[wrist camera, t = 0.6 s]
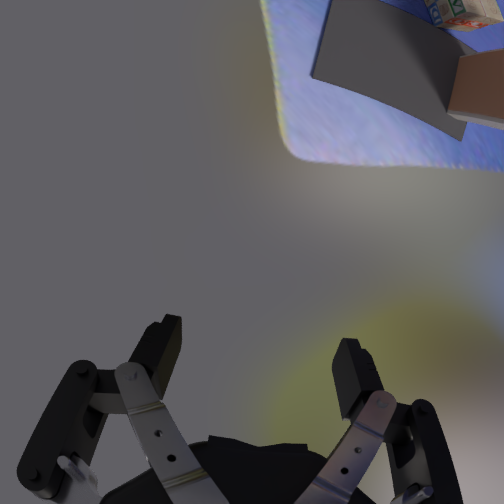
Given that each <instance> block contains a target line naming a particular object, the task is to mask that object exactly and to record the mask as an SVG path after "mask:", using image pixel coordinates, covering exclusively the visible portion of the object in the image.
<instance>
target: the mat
mask: <svg viewBox="0 0 504 504" xmlns="http://www.w3.org/2000/svg"><path fill="white" fill-rule="evenodd" d="M474 53H477V52H476V51H474V50H473V49H471V48H470V47H468V46H467V45H465V44H464V43H462V42H461V41H459V40H458V39H456V38H454V37H453V36H451V35H449V34H448V33H446V32H444V31H443V30H441V29H439V28H437V27H435V26H434V25H432V24H430V23H428V22H426V21H424V20H422V19H420V18H418V17H416V16H414V15H412V14H410V13H408V12H405V11H403V10H401V9H399V8H396V7H394V6H391V5H389V4H387V3H384V2H381V1H379V0H332V4H331V8H330V12H329V16H328V20H327V24H326V28H325V32H324V36H323V39H322V43H321V47H320V51H319V55H318V59H317V62H316V66H315V70H314V74H313V79H317V80H320V81H323V82H327V83H330V84H333V85H336V86H339V87H342V88H345V89H348V90H351V91H354V92H357V93H359V94H362V95H365V96H367V97H370V98H373V99H375V100H378V101H380V102H383V103H385V104H387V105H390V106H392V107H394V108H397V109H399V110H401V111H403V112H405V113H407V114H410V115H412V116H414V117H416V118H418V119H420V120H422V121H424V122H426V123H428V124H430V125H432V126H434V127H435V128H437V129H439V130H441V131H443V132H445V133H446V134H448V135H450V136H452V137H453V138H455V139H457V140H458V141H462V138H463V135H464V131H465V128H466V124H467V121H462V120H457V119H456V118H454V117H452V116H451V115H449V114H447V111H448V106H449V102H450V98H451V94H452V90H453V86H454V82H455V77H456V72H457V67H458V62H459V58H460V56H464V55H469V54H474Z"/></svg>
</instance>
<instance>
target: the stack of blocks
mask: <svg viewBox="0 0 504 504" xmlns="http://www.w3.org/2000/svg"><path fill="white" fill-rule="evenodd" d="M424 2H425V4H426V7H427V9H428V12H429V15H430V17H431V20H432V23H433V25H434V26H435V27H438V28H446V29H453V30H458V31H465V32H470V31H473V30H475V29H478V28H482V27H485V26H488V25H493V24H496V23H500V22H503V21H504V20H503V17H502V14H501V12H500V9H499V7H498V4H497V2H496V0H424Z"/></svg>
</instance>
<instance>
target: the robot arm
mask: <svg viewBox="0 0 504 504" xmlns="http://www.w3.org/2000/svg"><path fill="white" fill-rule="evenodd" d="M181 344H182V319H181V317H180V316H175V315H170V314H166V315H165V317H164V319H163V320H162V322H161V323H159V322H154V323H152V324H151V325H150V326H148V327H147V328H146V330H145V332H144V334H143V336H142V338H141V339H140V341H139V343H138V345H137V346H136V348H135V350H134V352H133V353H132V355H131V357H130V359H129V361H128V362H126V363H123V364H121V365H119V366H118V367H117V368H116V369H115V370H100V369H97V368H96V366H95V364H93V363H92V362H91V361H88V360H79V361H76V362H74V363H73V364H71V366H70V367H69V369H68V370H67V372H66V374H65V375H64V377H63V379H62V380H61V382H60V384H59V385H58V387H57V389H56V391H55V392H54V394H53V396H52V398H51V400H50V401H49V403H48V405H47V407H46V409H45V411H44V412H43V414H42V416H41V418H40V420H39V422H38V424H37V426H36V428H35V430H34V432H33V434H32V436H31V438H30V440H29V442H28V444H27V446H26V449H25V451H24V453H23V455H22V457H21V459H20V462H19V464H18V467H17V477H18V479H19V481H20V483H21V484H22V485H23V486H24V487H25V488H27V489H28V490H30V491H31V492H32V493H33V494H34V495H35V496H37V497H38V498H40V499H41V500H43V501H44V502H46V503H48V504H376V503H375V502H374V501H372V500H371V499H370V498H369V497H368V496H367V495H366V494H364V493H363V492H362V491H361V490H360V489H359V488H358V487H357V485H358V484H359V482H360V480H361V479H362V477H363V475H364V474H365V472H366V471H367V469H368V467H369V466H370V463H371V462H372V460H373V458H374V457H375V455H376V453H377V451H378V449H379V447H380V445H381V443H382V442H385V443H386V446H387V451H388V457H389V462H390V468H391V474H392V480H393V487H394V493H395V497H394V498H393V500H392V501H391V502H390V504H463V500H462V495H461V491H460V487H459V483H458V480H457V476H456V472H455V469H454V465H453V461H452V458H451V455H450V452H449V449H448V445H447V442H446V439H445V436H444V434H443V431H442V428H441V425H440V422H439V419H438V417H437V414H436V411H435V409H434V407H433V405H432V404H431V403H430V402H428V401H427V400H424V399H417V400H415V401H414V402H413V403H412V405H406V404H401V403H398V402H396V399H395V398H394V396H392V394H390V393H388V392H386V391H384V388H383V385H382V383H381V380H380V377H379V374H378V372H377V371H376V366H375V365H374V361H373V358H372V356H371V355H370V354H369V353H368V351H367V350H366V349H361V346H360V343H359V341H358V339H352V338H343V339H342V340H341V342H340V344H339V347H338V349H337V352H336V354H335V356H334V359H333V363H332V373H333V377H334V382H335V386H336V391H337V396H338V401H339V406H340V411H341V416H342V420H350V421H351V425H350V426H349V428H348V429H347V431H346V432H345V434H344V435H343V437H342V438H341V439H340V441H339V442H338V444H337V445H336V447H335V448H334V449H333V451H332V452H331V453H330V455H329V456H328V457H327V458H325V457H323V456H322V455H320V454H317V453H315V452H312V451H309V450H308V447H307V444H290V443H282V444H276V445H269V446H262V447H257V446H253V445H251V444H248V443H244V442H241V441H238V440H235V439H231V438H224V437H217V436H211V435H209V438H208V441H202V442H196V443H193V444H189V445H187V443H186V442H185V440H184V438H183V437H182V435H181V433H180V431H179V430H178V428H177V426H176V424H175V422H174V421H173V419H172V417H171V415H170V413H169V411H168V410H167V408H166V406H165V405H164V403H161V402H160V400H162V399H163V396H164V394H165V391H166V388H167V386H168V383H169V380H170V377H171V375H172V372H173V369H174V366H175V364H176V361H177V358H178V356H179V353H180V350H181ZM109 413H110V414H111V413H112V414H127V415H128V417H129V420H130V423H131V425H132V427H133V430H134V432H135V434H136V437H137V439H138V441H139V444H140V446H141V448H142V450H143V452H144V455H145V457H146V459H147V461H148V463H149V465H150V467H151V468H150V469H148V470H147V471H145V472H143V473H142V474H140V475H138V476H137V477H135V478H133V479H132V480H130V481H128V482H126V483H125V484H123V485H121V486H119V487H118V488H115V489H114V490H112V491H110V492H108V493H107V494H106V495H105V496H104V497H103V498H102V497H100V496H99V494H98V491H97V483H98V482H97V477H96V475H95V473H94V472H93V471H92V470H91V469H90V468H89V466H90V463H91V460H92V457H93V455H94V452H95V449H96V446H97V443H98V441H99V438H100V435H101V433H102V430H103V427H104V425H105V422H106V419H107V417H108V414H109Z"/></svg>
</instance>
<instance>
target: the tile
mask: <svg viewBox="0 0 504 504" xmlns="http://www.w3.org/2000/svg"><path fill="white" fill-rule="evenodd" d="M447 114H449V115H451V116H452V117H454V118H456V119H457V120H462V121H467V122H472V123H476V124H481V125H485V126H489V127H493V128H497V129H501V130H504V48H502V49H496V50H490V51H484V52H479V53H474V54H469V55H464V56H460V58H459V62H458V67H457V72H456V77H455V82H454V86H453V90H452V94H451V98H450V102H449V106H448V111H447Z"/></svg>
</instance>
